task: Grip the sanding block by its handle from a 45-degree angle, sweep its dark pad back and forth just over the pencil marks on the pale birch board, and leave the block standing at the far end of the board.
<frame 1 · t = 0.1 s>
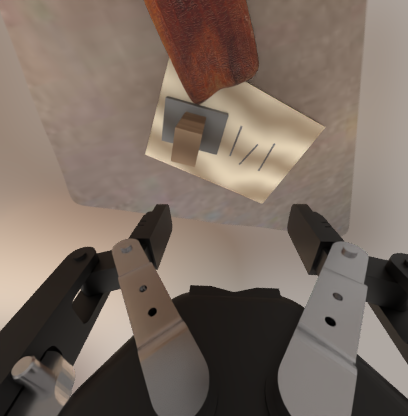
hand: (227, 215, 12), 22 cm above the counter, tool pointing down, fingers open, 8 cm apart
sanding block: (194, 125, 29), point 1 cm above the counter, touching birch board
birch board: (228, 138, 31), on the counter
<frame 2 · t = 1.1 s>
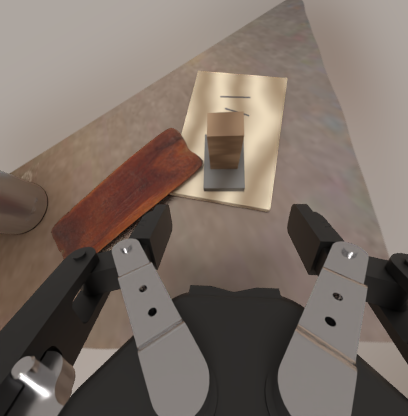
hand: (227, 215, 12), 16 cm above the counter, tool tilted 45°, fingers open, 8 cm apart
sanding block: (223, 164, 29), point 1 cm above the counter, touching birch board
wooden tablet: (127, 196, 30), point 1 cm above the counter, touching birch board
birch board: (229, 137, 32), on the counter
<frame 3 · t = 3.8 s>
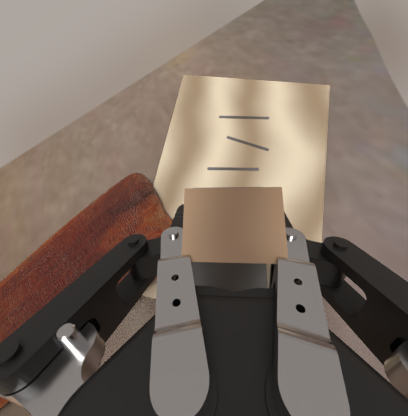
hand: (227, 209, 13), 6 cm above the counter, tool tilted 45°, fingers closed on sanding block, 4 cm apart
sanding block: (226, 240, 16), point 2 cm above the counter, touching birch board, gripper
wooden tablet: (59, 293, 17), point 1 cm above the counter, touching birch board
birch board: (235, 184, 19), on the counter
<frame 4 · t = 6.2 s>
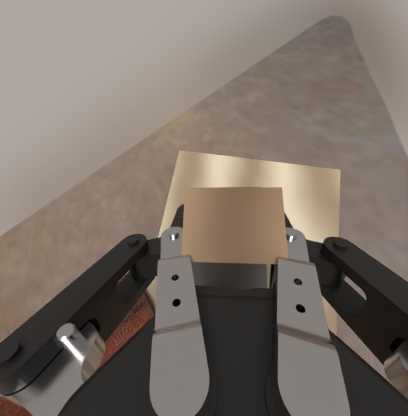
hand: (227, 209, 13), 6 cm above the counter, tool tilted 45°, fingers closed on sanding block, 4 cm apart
sanding block: (226, 240, 16), point 2 cm above the counter, touching gripper
wooden tablet: (41, 415, 16), point 1 cm above the counter, touching birch board
birch board: (236, 281, 17), on the counter
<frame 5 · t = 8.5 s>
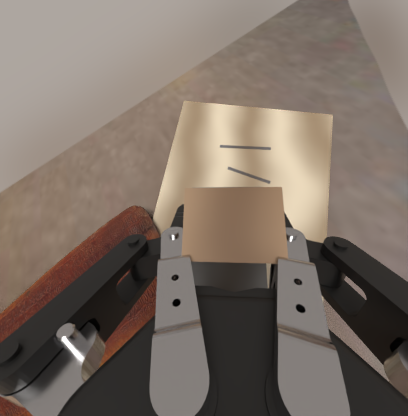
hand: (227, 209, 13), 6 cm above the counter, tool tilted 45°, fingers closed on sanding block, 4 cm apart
sanding block: (226, 240, 16), point 2 cm above the counter, touching gripper
wooden tablet: (57, 329, 17), point 1 cm above the counter, touching birch board
birch board: (236, 216, 19), on the counter
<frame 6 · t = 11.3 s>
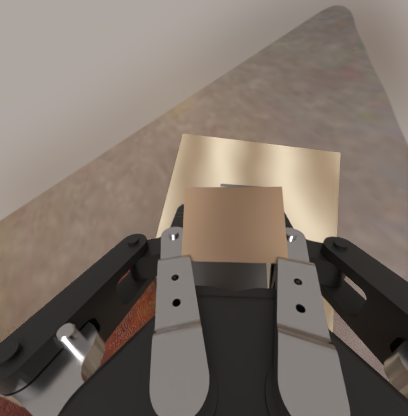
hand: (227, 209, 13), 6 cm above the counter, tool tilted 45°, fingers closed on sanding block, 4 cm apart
sanding block: (226, 240, 16), point 2 cm above the counter, touching gripper
wooden tablet: (46, 384, 16), point 1 cm above the counter, touching birch board
birch board: (237, 259, 18), on the counter
when the fingers open (6 cm above the counter, at t = 13.6 s): sanding block stays where it is, resting on birch board.
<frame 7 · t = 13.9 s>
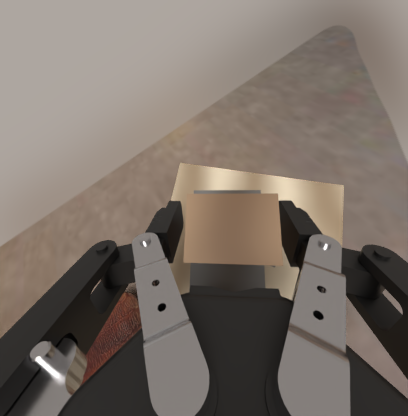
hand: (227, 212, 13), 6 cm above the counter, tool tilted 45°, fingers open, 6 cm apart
sanding block: (226, 241, 17), point 2 cm above the counter, touching birch board
birch board: (237, 298, 17), on the counter
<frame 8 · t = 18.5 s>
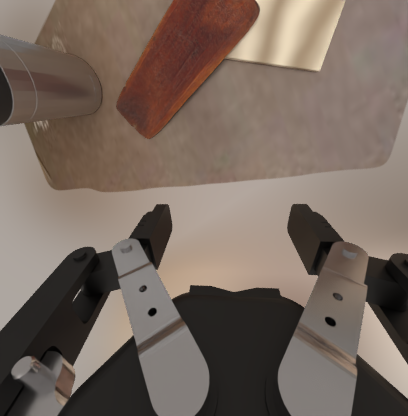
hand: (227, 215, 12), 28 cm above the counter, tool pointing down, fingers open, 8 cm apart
wooden tablet: (176, 64, 30), point 1 cm above the counter, touching birch board
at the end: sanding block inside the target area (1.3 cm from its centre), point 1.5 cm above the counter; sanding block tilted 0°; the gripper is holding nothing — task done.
